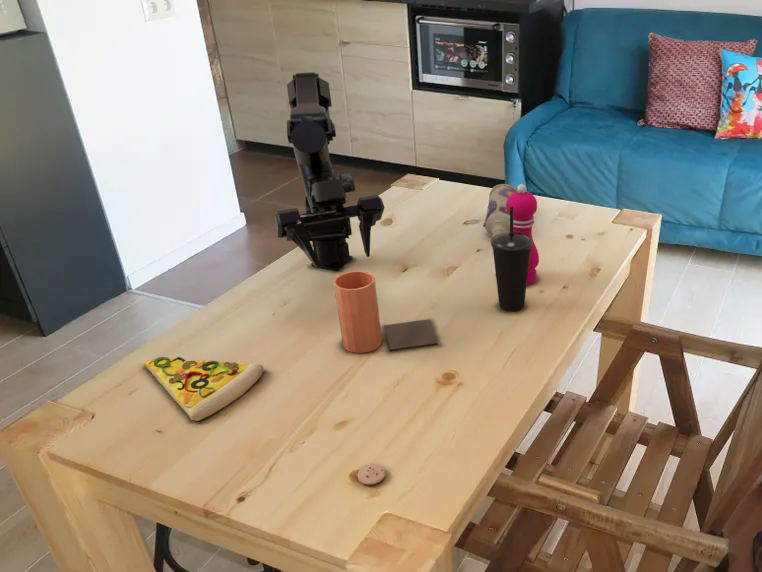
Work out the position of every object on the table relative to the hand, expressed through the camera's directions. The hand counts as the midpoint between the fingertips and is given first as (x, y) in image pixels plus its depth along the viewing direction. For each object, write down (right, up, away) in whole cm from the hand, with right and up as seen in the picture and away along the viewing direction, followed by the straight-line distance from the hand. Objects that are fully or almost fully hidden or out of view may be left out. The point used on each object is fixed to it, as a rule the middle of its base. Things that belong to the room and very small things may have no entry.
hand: (342, 261), depth 131 cm
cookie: (+10, -35, -26) cm, 44 cm away
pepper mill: (+32, 0, +22) cm, 38 cm away
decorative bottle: (+26, +14, +42) cm, 51 cm away
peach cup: (+3, -14, +2) cm, 15 cm away
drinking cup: (+30, -7, +13) cm, 33 cm away
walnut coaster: (+11, -13, +4) cm, 18 cm away
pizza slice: (-23, -22, -7) cm, 32 cm away
